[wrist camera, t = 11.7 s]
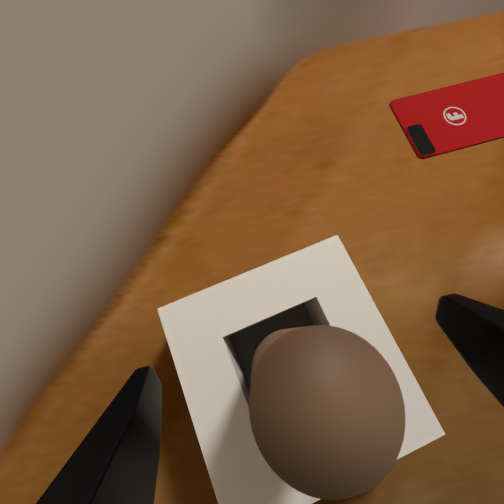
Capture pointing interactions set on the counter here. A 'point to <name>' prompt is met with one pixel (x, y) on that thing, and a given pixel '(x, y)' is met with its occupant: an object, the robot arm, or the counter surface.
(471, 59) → the counter surface
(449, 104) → the electronic device
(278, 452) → the walnut pin
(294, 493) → the bore block
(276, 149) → the counter surface
